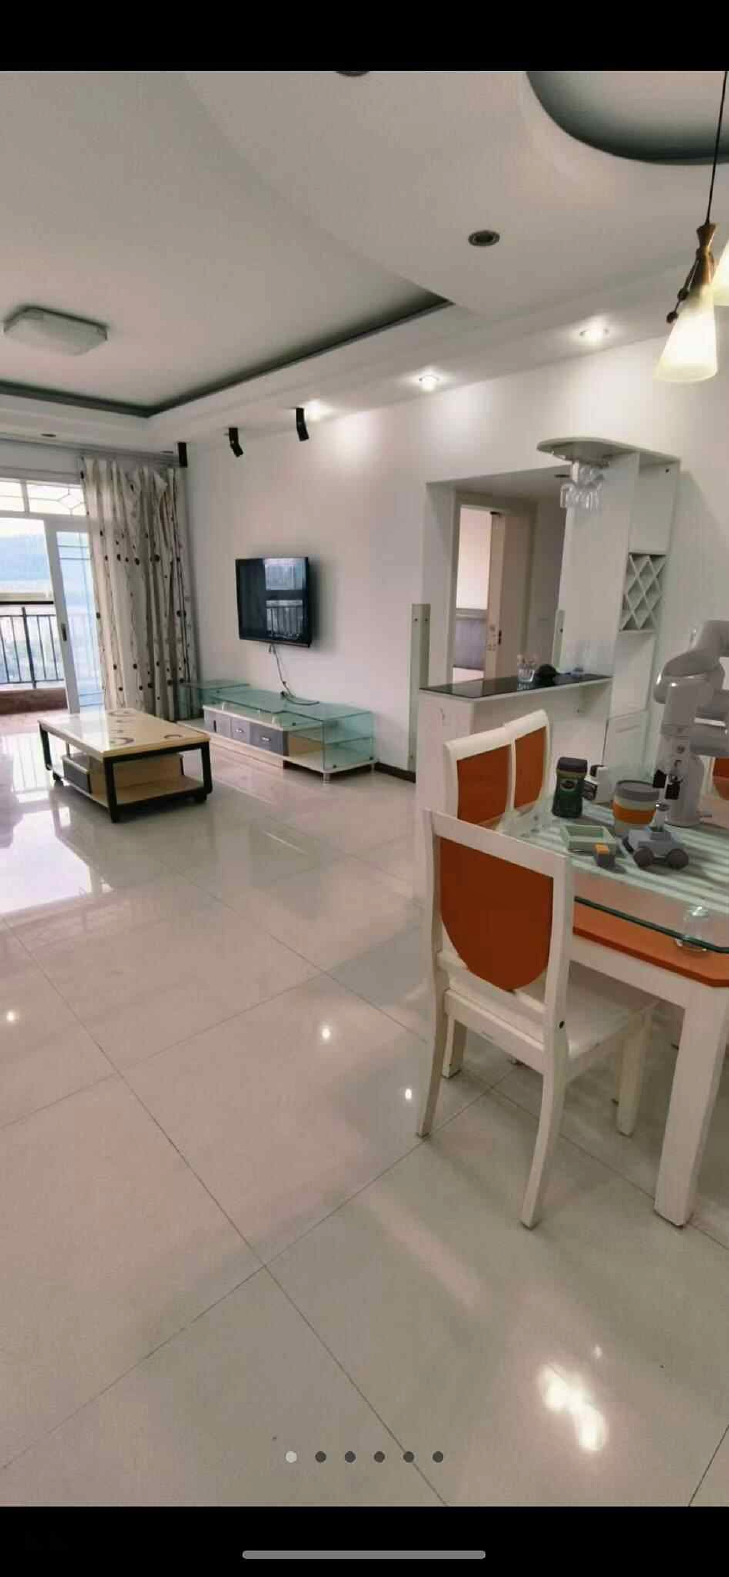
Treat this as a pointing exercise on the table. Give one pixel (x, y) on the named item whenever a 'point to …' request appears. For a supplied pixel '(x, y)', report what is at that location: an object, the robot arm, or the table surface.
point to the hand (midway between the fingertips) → (664, 793)
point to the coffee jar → (569, 787)
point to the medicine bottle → (597, 785)
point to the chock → (604, 855)
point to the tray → (586, 837)
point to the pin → (660, 816)
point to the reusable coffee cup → (633, 805)
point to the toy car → (655, 847)
